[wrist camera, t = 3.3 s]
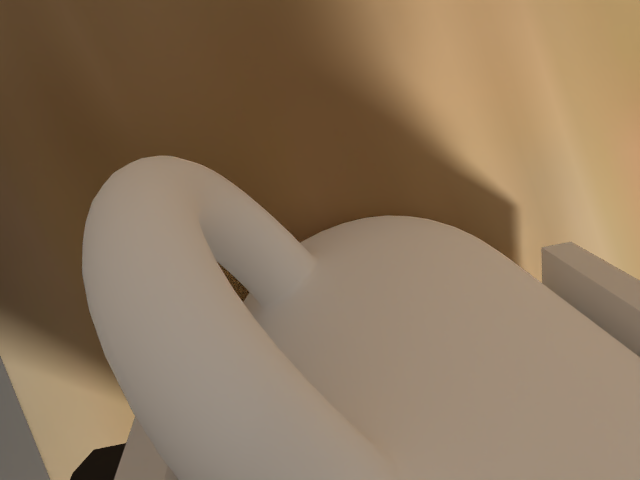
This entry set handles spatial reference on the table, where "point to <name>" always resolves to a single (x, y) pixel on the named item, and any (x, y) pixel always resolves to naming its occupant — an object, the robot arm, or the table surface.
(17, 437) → the gray tray
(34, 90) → the table surface
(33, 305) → the table surface
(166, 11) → the table surface
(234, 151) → the table surface
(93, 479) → the robot arm
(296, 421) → the mug
